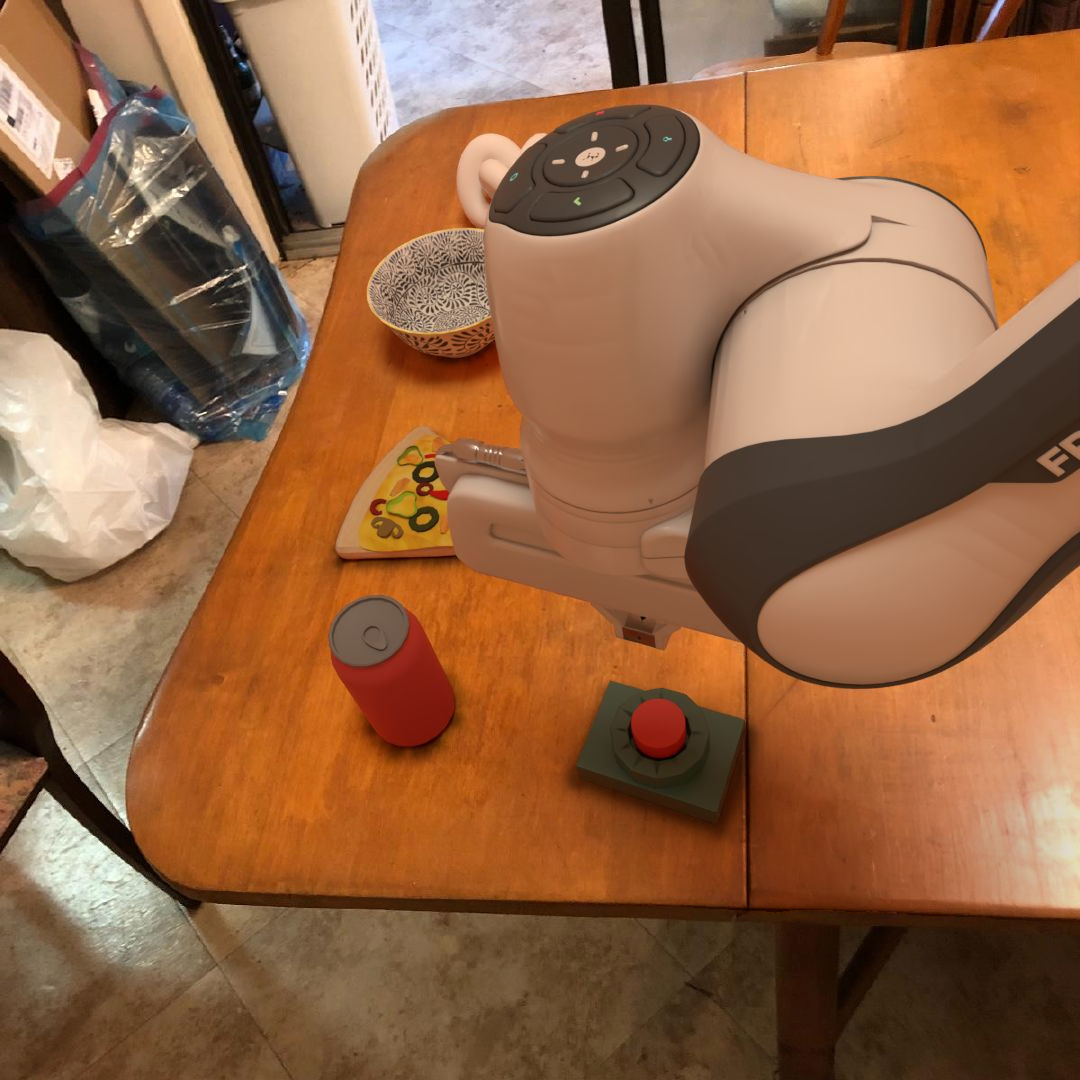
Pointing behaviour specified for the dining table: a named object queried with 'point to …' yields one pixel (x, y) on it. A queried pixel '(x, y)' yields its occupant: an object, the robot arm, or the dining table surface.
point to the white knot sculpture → (485, 171)
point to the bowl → (435, 293)
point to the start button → (658, 728)
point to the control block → (671, 782)
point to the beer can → (391, 670)
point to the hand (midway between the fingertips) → (645, 634)
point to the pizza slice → (400, 505)
